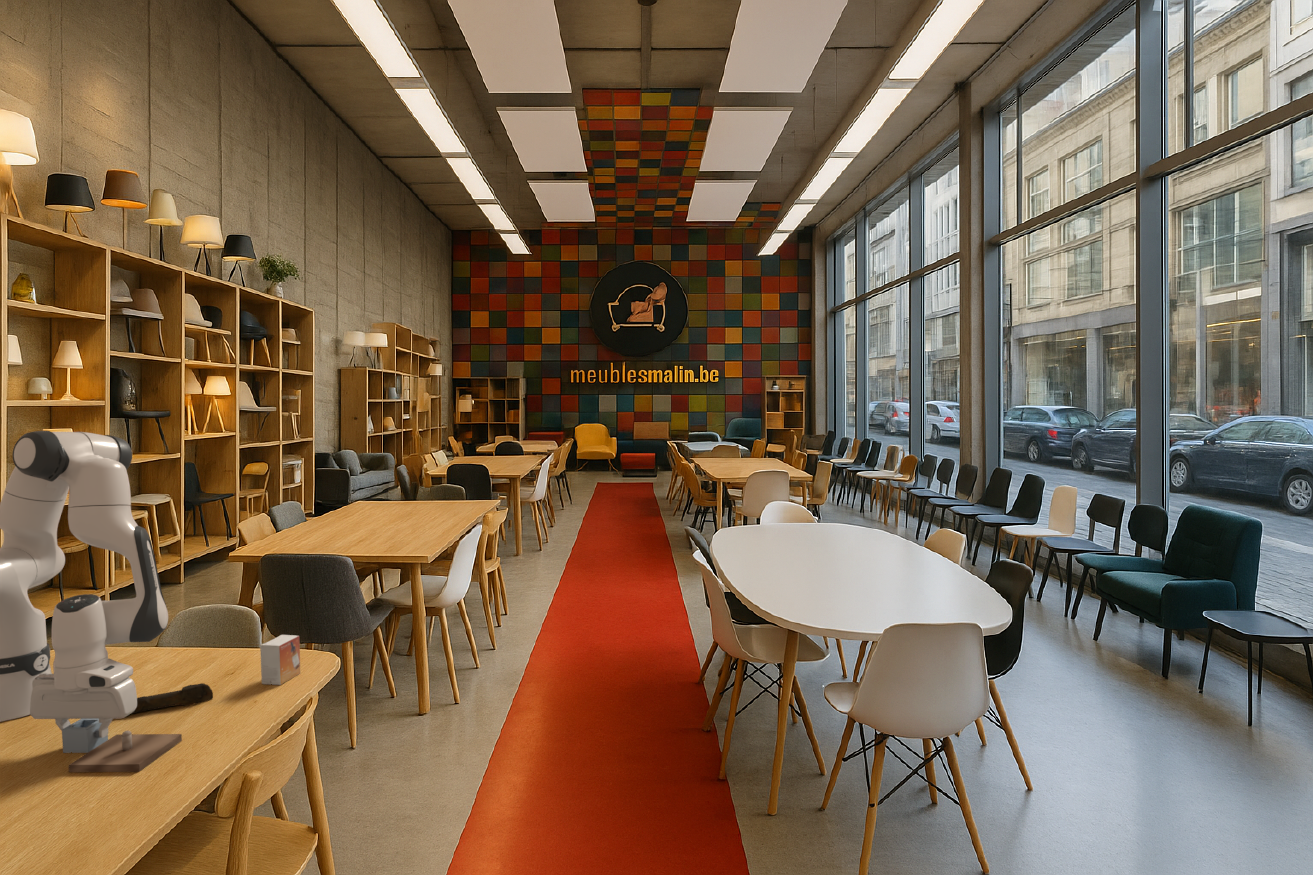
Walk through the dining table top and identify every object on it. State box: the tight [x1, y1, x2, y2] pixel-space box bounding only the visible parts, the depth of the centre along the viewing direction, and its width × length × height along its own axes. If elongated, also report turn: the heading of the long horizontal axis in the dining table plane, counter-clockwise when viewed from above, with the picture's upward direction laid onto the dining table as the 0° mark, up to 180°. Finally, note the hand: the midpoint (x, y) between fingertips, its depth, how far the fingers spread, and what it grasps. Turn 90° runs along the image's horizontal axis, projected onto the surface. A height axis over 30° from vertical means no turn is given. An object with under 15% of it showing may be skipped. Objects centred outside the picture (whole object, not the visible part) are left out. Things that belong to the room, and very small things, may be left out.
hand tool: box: [131, 682, 214, 714], centre depth 161 cm, size 19×4×5 cm, turn 114°
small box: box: [259, 634, 301, 686], centre depth 177 cm, size 8×6×10 cm
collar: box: [61, 719, 109, 754], centre depth 143 cm, size 5×5×5 cm
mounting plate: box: [68, 730, 183, 773], centre depth 139 cm, size 14×12×5 cm
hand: (85, 736), depth 143 cm, fingers open, 5 cm apart
